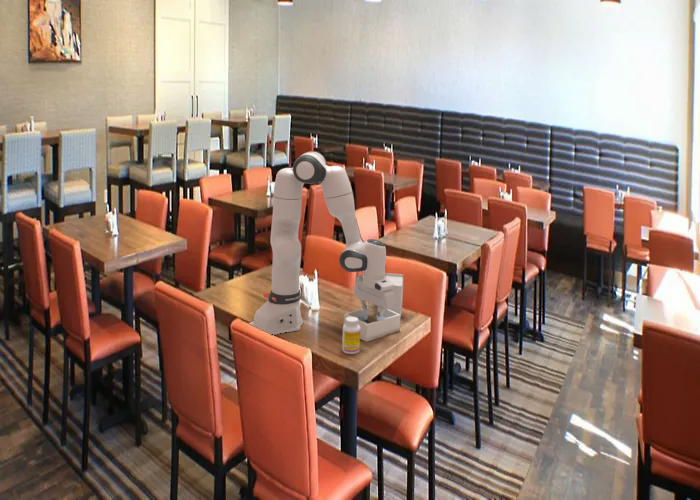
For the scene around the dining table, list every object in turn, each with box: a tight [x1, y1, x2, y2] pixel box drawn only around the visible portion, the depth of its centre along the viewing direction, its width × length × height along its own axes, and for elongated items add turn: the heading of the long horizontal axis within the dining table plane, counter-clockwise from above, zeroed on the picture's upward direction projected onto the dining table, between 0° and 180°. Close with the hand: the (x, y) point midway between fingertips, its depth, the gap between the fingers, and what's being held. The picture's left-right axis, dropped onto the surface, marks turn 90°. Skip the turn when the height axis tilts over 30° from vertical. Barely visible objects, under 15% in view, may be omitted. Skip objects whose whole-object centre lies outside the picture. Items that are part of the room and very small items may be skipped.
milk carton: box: [385, 272, 404, 316], centre depth 250 cm, size 7×7×19 cm
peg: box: [367, 301, 378, 323], centre depth 235 cm, size 4×4×12 cm
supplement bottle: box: [341, 317, 361, 355], centre depth 216 cm, size 7×7×13 cm
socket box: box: [343, 306, 402, 342], centre depth 236 cm, size 18×14×7 cm
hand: (372, 312), depth 234 cm, fingers open, 8 cm apart
